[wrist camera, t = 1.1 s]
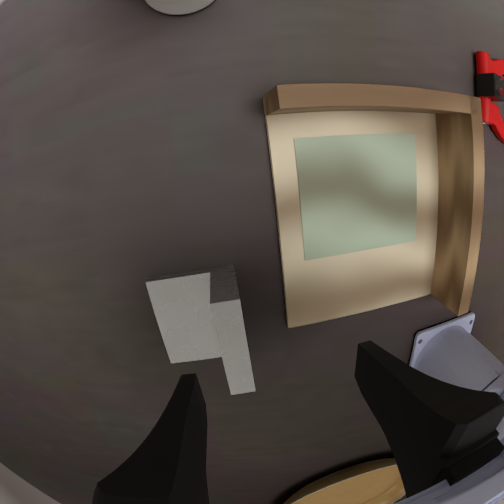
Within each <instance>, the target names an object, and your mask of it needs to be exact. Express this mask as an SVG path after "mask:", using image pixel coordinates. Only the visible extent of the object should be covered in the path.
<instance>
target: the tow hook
mask: <svg viewBox="0 0 504 504" xmlns="http://www.w3.org/2000/svg"><path fill="white" fill-rule="evenodd" d="M476 69H477V74H476V97H478V98H480V100H481V109H482V120H483V124H484V125H491V127H492V130H493V131H494V133H495V134H496V136H497V137H498V139H500V140H501V141H502V142H503V143H504V121H503V120H502V117H501V115H500V112H499V108H498V106H497V105H495V104H494V103H492V102H491V101H504V78H502V77H500V76H501V75H504V60H503V59H494V60H491V59H490V55H489V54H488V53H486V52H482V51H477V52H476Z"/></svg>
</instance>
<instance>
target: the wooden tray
mask: <svg viewBox="0 0 504 504" xmlns="http://www.w3.org/2000/svg"><path fill="white" fill-rule="evenodd" d="M264 102H265V110H266V116H267V115H278V114H291V113H307V112H329V111H394V112H415V113H430V114H435V117H436V129H437V145H438V182H439V185H438V223H437V239H436V251H435V262H434V271H433V279H432V287H431V295H432V296H434V297H435V298H436V299H437V300H438V301H440V302H441V303H442V304H443V305H445V306H446V307H447V308H448V309H449V310H451V311H452V312H453V313H454V314H455V315H456V316H460V315H463V314H465V313H468V309H469V305H470V300H471V295H472V290H473V285H474V280H475V274H476V268H477V261H478V254H479V246H480V238H481V228H482V217H483V201H484V135H483V120H482V109H481V100H480V98H478V97H473V96H468V95H462V94H457V93H450V92H444V91H437V90H430V89H421V88H412V87H402V86H390V85H374V84H346V83H318V84H289V85H277V86H275V87H274V88H273V89H272V90H271V91H270V92H269V93H267V94H266V95H265V96H264Z"/></svg>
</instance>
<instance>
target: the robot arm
mask: <svg viewBox="0 0 504 504" xmlns="http://www.w3.org/2000/svg"><path fill="white" fill-rule="evenodd" d="M474 318H475V314H474V313H472V312H471V313H469V314H466V315H463V316H461V317H458V318H456V319H453V320H450V321H448V322H445V323H442V324H439V325H437V326H434V327H431V328H428V329H425V330H422V331H419V332H418V333H417V334H416V336H415V340H414V345H413V350H412V355H411V360H410V364H409V365H408V364H406V363H404V362H403V361H401V360H399V359H398V358H396V357H395V356H393V355H391V354H390V353H388V352H387V351H385V350H384V349H382V348H381V347H379V346H378V345H376V344H375V343H373V342H372V341H367V342H363V343H359V344H358V350H357V360H356V369H355V378H356V381H357V383H358V386H359V388H360V391H361V393H362V395H363V397H364V399H365V400H366V402H367V404H368V406H369V407H370V409H371V411H372V412H373V414H374V416H375V417H376V419H377V421H378V423H379V424H380V426H381V428H382V430H383V432H384V434H385V436H386V438H387V440H388V443H389V445H390V448H391V450H392V453H393V455H394V458H395V461H396V463H397V466H398V469H399V473H400V476H401V479H402V482H403V486H404V489H405V493H406V497H407V499H404V500H402V501H400V502H397V503H395V504H497V503H498V502H499V501H501V500H504V365H503V364H502V363H501V362H500V361H499V360H498V359H497V358H496V357H495V356H494V355H493V354H492V353H491V352H490V351H488V350H487V349H486V348H485V347H484V346H483V345H482V344H481V343H480V342H479V341H478V340H477V339H475V338H474V337H473V336H472V335H471V334H470V333H471V330H472V326H473V322H474ZM206 447H207V414H206V404H205V401H204V398H203V394H202V391H201V388H200V385H199V382H198V378H197V375H196V373H195V374H185V375H182V376H181V377H180V379H179V382H178V384H177V386H176V388H175V391H174V393H173V395H172V397H171V399H170V401H169V403H168V405H167V406H166V408H165V410H164V412H163V414H162V415H161V417H160V418H159V420H158V422H157V423H156V425H155V426H154V428H153V429H152V431H151V432H150V434H149V435H148V436H147V438H146V439H145V440H144V441H143V443H142V444H141V445H140V446H139V447H138V448H137V450H136V451H135V452H134V453H133V454H132V455H131V456H130V457H129V458H128V459H127V460H126V461H125V462H124V463H122V464H121V465H120V466H119V467H118V468H117V469H116V470H115V471H113V472H112V473H111V474H109V475H108V476H106V477H105V478H104V479H102V480H101V481H99V482H98V483H97V486H96V488H95V491H94V495H93V501H92V504H209V497H208V488H207V478H206Z"/></svg>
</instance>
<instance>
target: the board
mask: <svg viewBox="0 0 504 504" xmlns="http://www.w3.org/2000/svg"><path fill="white" fill-rule="evenodd" d="M263 105H264V113H265V121H266V129H267V137H268V145H269V153H270V161H271V170H272V178H273V187H274V196H275V205H276V214H277V224H278V233H279V243H280V253H281V264H282V274H283V285H284V296H285V307H286V319H287V326H288V328H292V327H297V326H302V325H307V324H312V323H317V322H321V321H326V320H331V319H335V318H340V317H344V316H348V315H353V314H357V313H361V312H365V311H369V310H373V309H377V308H381V307H385V306H389V305H393V304H396V303H400V302H404V301H408V300H411V299H415V298H418V297H422V296H425V295H429V294H431V287H432V279H433V271H434V262H435V251H436V239H437V223H438V185H439V182H438V145H437V129H436V117H435V114H430V113H415V112H394V111H329V112H307V113H291V114H278V115H267V116H266V110H265V102H264V97H263Z"/></svg>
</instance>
